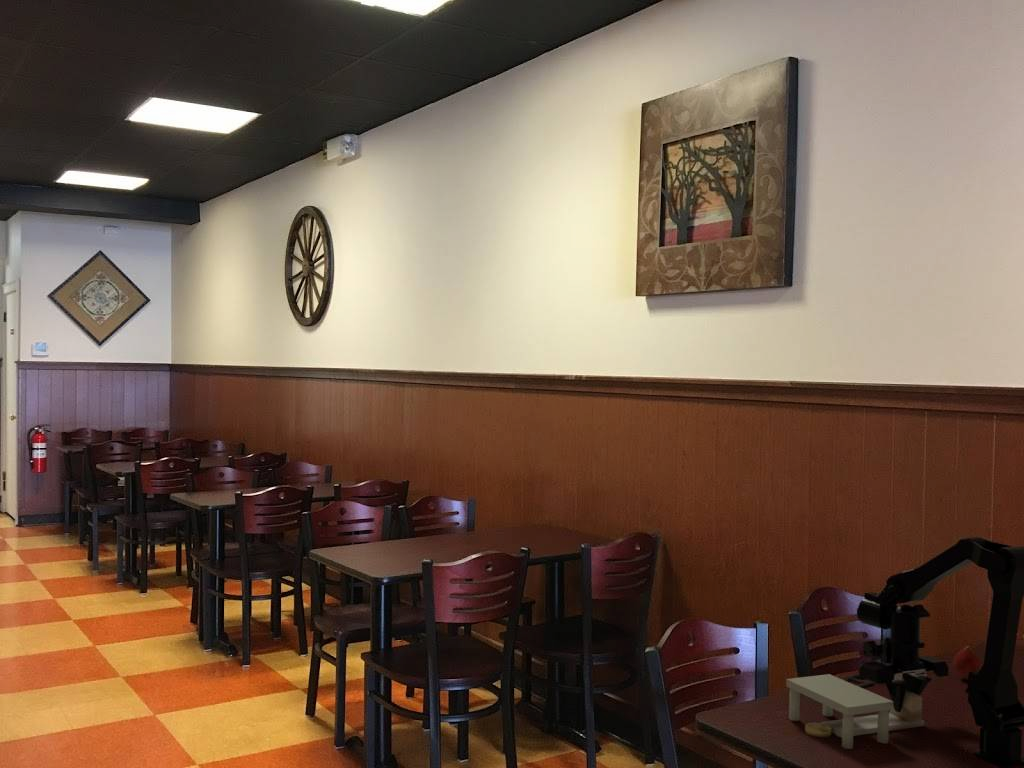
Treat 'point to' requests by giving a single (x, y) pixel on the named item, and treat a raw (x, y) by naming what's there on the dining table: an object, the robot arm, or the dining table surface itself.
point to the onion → (966, 662)
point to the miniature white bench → (840, 703)
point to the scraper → (897, 720)
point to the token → (818, 729)
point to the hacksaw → (855, 679)
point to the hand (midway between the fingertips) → (902, 710)
